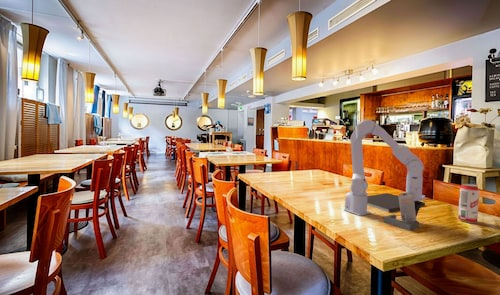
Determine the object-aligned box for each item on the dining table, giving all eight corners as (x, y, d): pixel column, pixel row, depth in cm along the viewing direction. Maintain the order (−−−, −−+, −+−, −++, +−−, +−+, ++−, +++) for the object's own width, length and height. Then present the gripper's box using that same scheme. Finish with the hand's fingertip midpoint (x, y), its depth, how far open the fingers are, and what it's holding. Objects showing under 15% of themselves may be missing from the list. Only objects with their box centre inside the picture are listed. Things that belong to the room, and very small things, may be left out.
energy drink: (413, 217, 105) (410, 191, 103) (418, 223, 100) (415, 197, 98) (399, 218, 107) (396, 193, 104) (404, 225, 102) (401, 199, 99)
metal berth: (384, 222, 104) (384, 216, 104) (393, 219, 107) (393, 214, 107) (409, 231, 95) (410, 224, 95) (419, 227, 98) (419, 221, 98)
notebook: (388, 213, 117) (424, 206, 129) (388, 208, 117) (425, 202, 129) (353, 201, 137) (387, 196, 149) (353, 197, 137) (387, 192, 148)
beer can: (454, 219, 108) (456, 183, 107) (463, 218, 110) (465, 182, 109) (471, 224, 102) (474, 186, 101) (480, 222, 104) (483, 185, 103)
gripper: (414, 190, 97) (413, 224, 98) (433, 186, 104) (431, 218, 105) (396, 187, 103) (395, 218, 104) (415, 183, 110) (414, 213, 111)
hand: (412, 218), depth 105 cm, fingers closed
